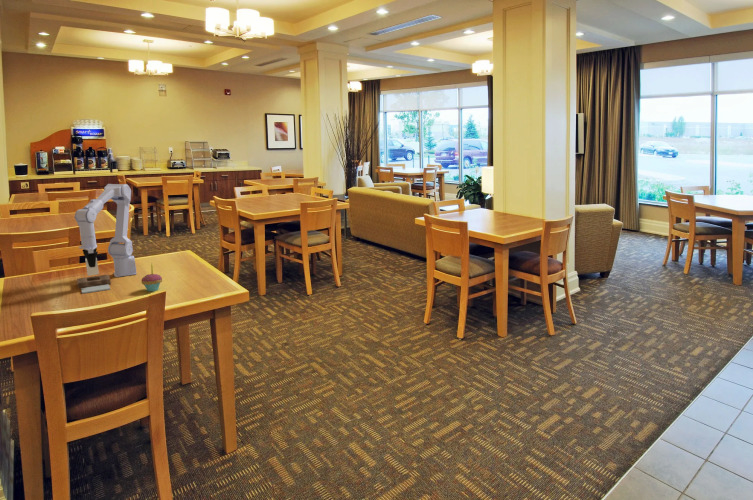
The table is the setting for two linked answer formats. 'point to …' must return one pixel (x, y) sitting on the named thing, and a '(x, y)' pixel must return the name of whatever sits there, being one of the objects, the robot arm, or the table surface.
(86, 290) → the grey mat
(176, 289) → the table surface
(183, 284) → the table surface
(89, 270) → the cream block
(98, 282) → the pocket board
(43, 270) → the table surface
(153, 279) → the cupcake
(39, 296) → the table surface
